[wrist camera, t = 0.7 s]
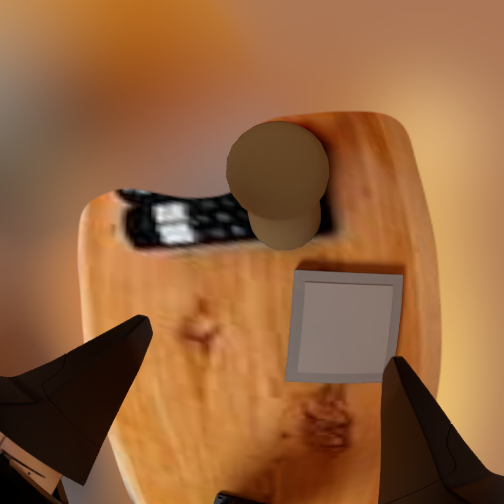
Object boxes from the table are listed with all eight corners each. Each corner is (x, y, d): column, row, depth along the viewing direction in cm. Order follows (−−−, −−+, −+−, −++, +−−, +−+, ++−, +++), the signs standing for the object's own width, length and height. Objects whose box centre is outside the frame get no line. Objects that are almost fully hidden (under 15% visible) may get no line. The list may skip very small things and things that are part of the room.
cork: (324, 185, 22) (344, 110, 11) (316, 255, 22) (336, 230, 11) (255, 176, 23) (224, 100, 12) (243, 244, 23) (197, 210, 12)
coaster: (386, 378, 19) (390, 382, 18) (285, 377, 21) (284, 381, 20) (398, 275, 20) (403, 274, 19) (294, 270, 22) (294, 269, 21)
